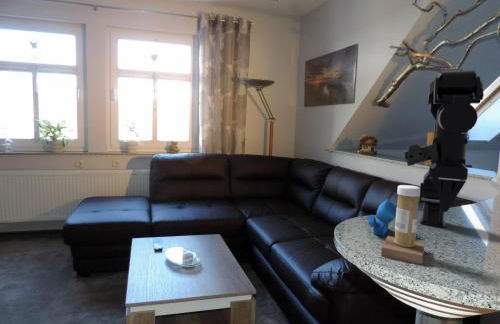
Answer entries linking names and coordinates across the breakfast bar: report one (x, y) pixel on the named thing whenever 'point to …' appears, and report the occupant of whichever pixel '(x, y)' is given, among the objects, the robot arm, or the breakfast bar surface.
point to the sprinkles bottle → (406, 215)
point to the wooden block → (403, 251)
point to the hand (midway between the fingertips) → (444, 206)
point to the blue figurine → (382, 217)
